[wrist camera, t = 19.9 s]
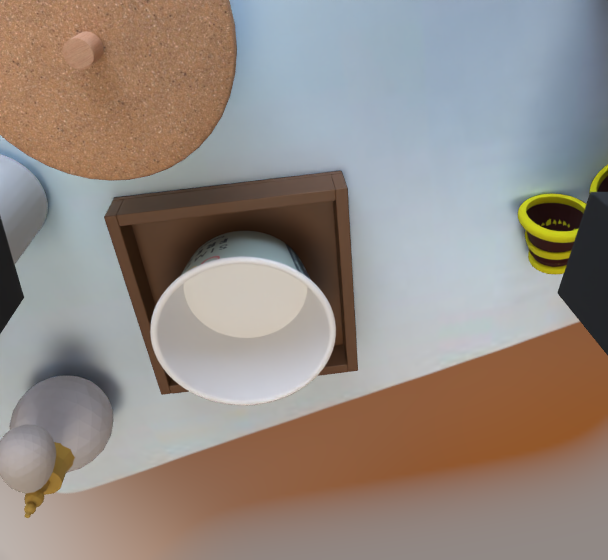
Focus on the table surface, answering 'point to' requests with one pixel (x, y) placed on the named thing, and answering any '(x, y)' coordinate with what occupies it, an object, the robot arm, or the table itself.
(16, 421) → the perfume bottle
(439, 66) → the table surface
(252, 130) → the table surface
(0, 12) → the lidded bowl
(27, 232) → the beverage can
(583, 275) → the robot arm
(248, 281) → the food container
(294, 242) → the tray
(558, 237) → the opera glasses
